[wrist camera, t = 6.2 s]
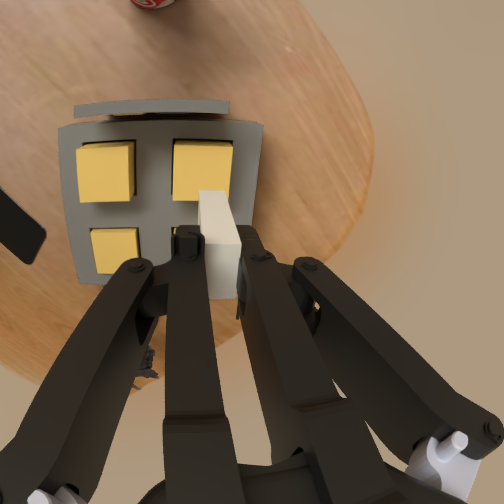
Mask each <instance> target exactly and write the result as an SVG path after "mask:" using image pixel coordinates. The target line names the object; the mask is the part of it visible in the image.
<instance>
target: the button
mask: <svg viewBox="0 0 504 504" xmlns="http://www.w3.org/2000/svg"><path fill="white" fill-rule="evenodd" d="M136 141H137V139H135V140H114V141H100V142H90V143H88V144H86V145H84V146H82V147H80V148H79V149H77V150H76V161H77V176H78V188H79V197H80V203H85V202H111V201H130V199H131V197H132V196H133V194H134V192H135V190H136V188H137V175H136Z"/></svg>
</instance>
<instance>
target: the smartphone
mask: <svg viewBox="0 0 504 504" xmlns="http://www.w3.org/2000/svg"><path fill="white" fill-rule="evenodd" d="M45 237H46V230H45V228H44V227H43V226H42V225H41V224H40V223H39V222H37V221H36V220H35V219H34V218H33V217H32V216H31V215H30V214H28V213H27V212H26V211H25V210H24V209H23V208H22V207H21V206H20V205H19V204H18V203H16V202H15V201H14V200H13V199H12V198H11V197H10V196H9V195H8V194H7V193H6V192H5V191H4V190H3V189H2V188H1V187H0V242H1V243H2V244H3V245H4V246H5V247H6V248H7V249H9V250H10V251H11V252H12V253H13V254H14V255H15V256H17V257H18V258H19V259H20V260H21V261H23V262H24V263H25V264H31V263H32V261H33V259H34V257H35V255H36V253H37V252H38V250H39V248H40V246H41V244H42V242H43V240H44V239H45Z"/></svg>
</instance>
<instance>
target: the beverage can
mask: <svg viewBox="0 0 504 504" xmlns="http://www.w3.org/2000/svg"><path fill="white" fill-rule="evenodd" d="M130 1H131V2H132V3H133V4H135V5H136V6H138V7H141V8H146V9H155V8H160V7H164V6H166V5H169V4H171V3H173V2H174V1H176V0H130Z"/></svg>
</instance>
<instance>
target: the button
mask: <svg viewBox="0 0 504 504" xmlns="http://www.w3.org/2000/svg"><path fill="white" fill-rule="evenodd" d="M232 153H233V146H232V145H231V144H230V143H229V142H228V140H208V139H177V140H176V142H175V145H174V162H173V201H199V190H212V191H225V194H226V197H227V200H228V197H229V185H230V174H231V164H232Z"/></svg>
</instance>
